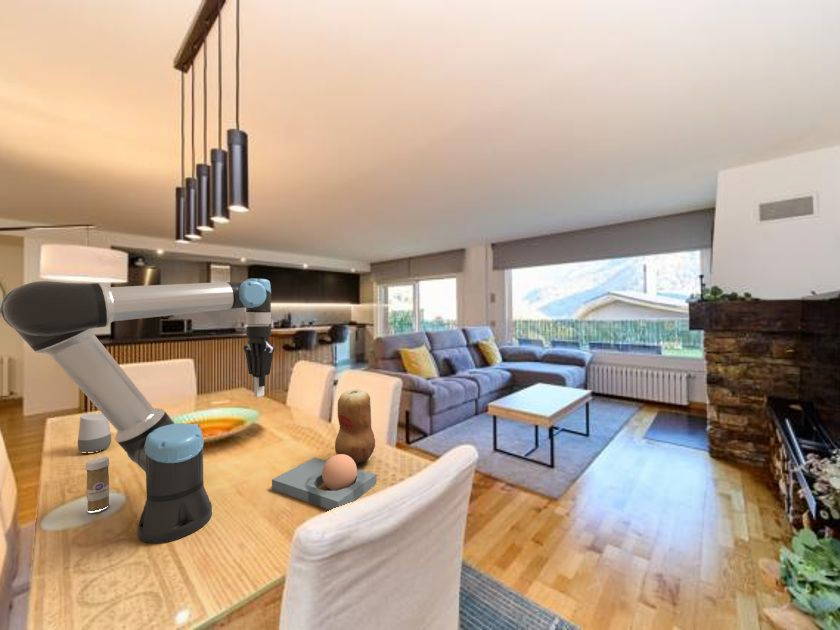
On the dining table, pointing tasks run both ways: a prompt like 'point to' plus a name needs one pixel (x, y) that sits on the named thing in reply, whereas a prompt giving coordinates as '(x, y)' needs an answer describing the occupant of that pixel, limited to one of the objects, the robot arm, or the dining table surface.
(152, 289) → the robot arm
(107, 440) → the smart speaker
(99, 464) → the sprinkles bottle
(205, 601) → the dining table surface
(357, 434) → the butternut squash
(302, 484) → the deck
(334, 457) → the ball
